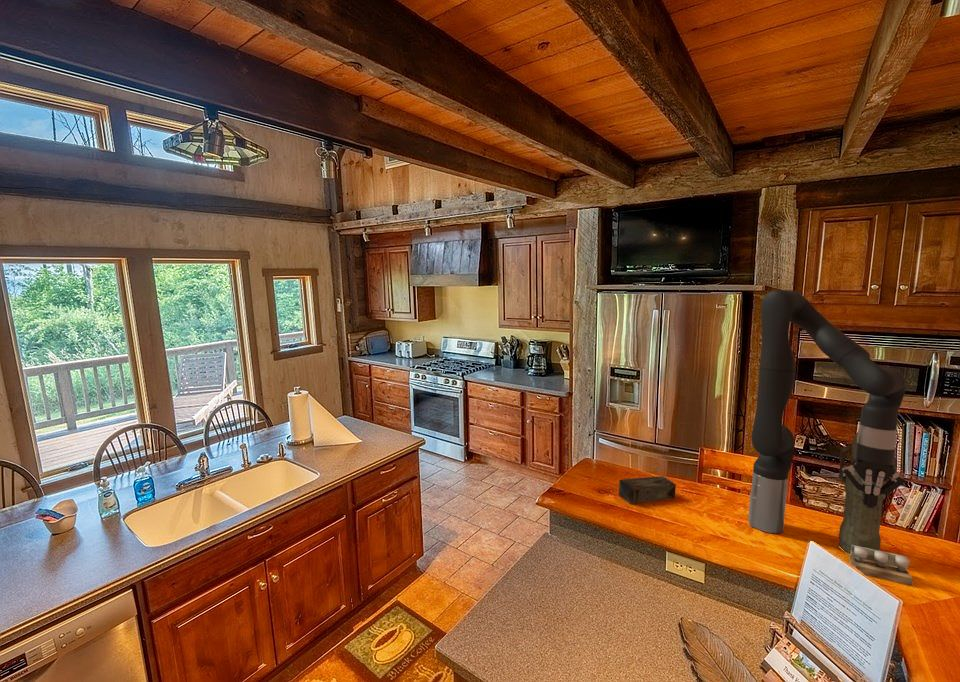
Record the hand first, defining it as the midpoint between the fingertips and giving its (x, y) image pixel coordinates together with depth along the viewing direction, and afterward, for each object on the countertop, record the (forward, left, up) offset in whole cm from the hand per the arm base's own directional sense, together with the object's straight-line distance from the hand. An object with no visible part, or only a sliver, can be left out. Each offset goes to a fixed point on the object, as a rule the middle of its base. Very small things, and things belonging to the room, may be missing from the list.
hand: (868, 506), depth 115 cm
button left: (-1, 0, -16) cm, 16 cm away
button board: (+4, 0, -18) cm, 18 cm away
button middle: (+4, 0, -16) cm, 17 cm away
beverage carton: (-57, +17, -18) cm, 62 cm away
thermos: (+2, +11, -18) cm, 21 cm away
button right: (+8, 0, -16) cm, 18 cm away
